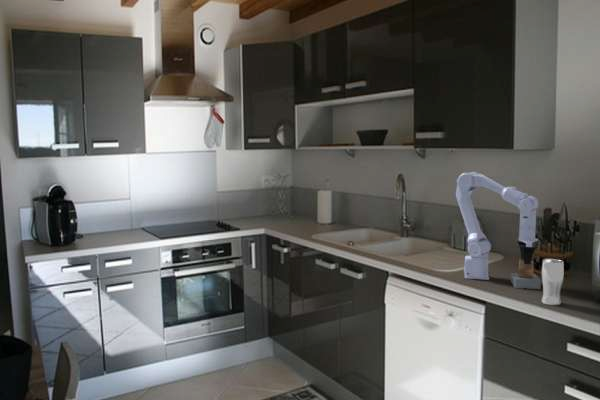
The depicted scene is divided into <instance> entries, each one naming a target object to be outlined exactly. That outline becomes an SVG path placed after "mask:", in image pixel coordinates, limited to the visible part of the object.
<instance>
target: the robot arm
mask: <svg viewBox="0 0 600 400" xmlns="http://www.w3.org/2000/svg"><path fill="white" fill-rule="evenodd" d="M456 184H457V185H456V189H455V190H456V191H455V197H456V200H457V203H458V207H459V209H460V212H461V216H462V219H463V222H464V226H465V228H466V231H467V234H468V237H467V241H466V242H467V252H468V253H469V254H468V255H465V257H464V268H463V274H464V279H472V280H475V279H476V280H485V281H489V280H490V276H489V273H488V272H489V253H490V251H491V249H492V244H491V242H490V241H489V239H488V238H487V236H486V235H485V234H484V232H483V231H482V229H481V226H480V223H479V220H478V218H477V214H476V211H475V208H474V204H473V202H472V198H471V195H472V194H473V192H474V190H475V189H476V188H477V187H484V188H486V189H488V190H491V191H493V192H495V193H496V194H498V195H500V196H501V198H502V200H504V201H505V202H508V203H509V204H511V205H514V206H515V207H517V208H518V209H519V228H518V229H519V230H518V239H517V240H518V241H517V244H518V246H519V249H520V250H519V252H520V256H521V258H520V259H521V260H524V264H530V263H531V260H533V256H534V253H535V251H536V250H537V246H533V244H534V243H535V242H538V241H539V238H536V227H537V222H536V221H537V209H538V207H539V206H540V205H539V203H540V202H539V200H538V199H537V197H536V196H533V195H528V193H526V192H522V191H520V190H518V189H517V187H516V186H507V187H505V186H503V185H501V184H500V183H499V182H497V181H494V180H493V179H491V178H490V177H488V176H485V175H484V174H482V173H479V172H478V171H471V172H462V173H461V174H460V175H459V176H458V178H457V179H456Z"/></svg>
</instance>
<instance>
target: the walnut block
mask: <svg viewBox="0 0 600 400" xmlns="http://www.w3.org/2000/svg"><path fill="white" fill-rule="evenodd" d="M518 261H519V262H518V273H519V277H523V278H533V274H534V269H535V268H534V267H535V264H534V263H535V262H534V260H533V259H532V260H531V263H530V264H524V260H523V259H518Z"/></svg>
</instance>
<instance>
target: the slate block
mask: <svg viewBox="0 0 600 400" xmlns="http://www.w3.org/2000/svg"><path fill="white" fill-rule="evenodd" d="M510 283H511V284H512V285H513V287H514V289H524V288H527V290H529V289H530V290H541V283H542V279H541V278H539V277H538V276H537V275H536V274H535V273H533V278H523V277H519V272H518V273H517V272H514V273H512V272H511V273H510Z"/></svg>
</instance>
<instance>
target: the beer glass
mask: <svg viewBox="0 0 600 400" xmlns="http://www.w3.org/2000/svg"><path fill="white" fill-rule="evenodd" d="M541 264H542V265H541V271H540V272H541V275H540V276H541V283H542V290H543V291H542V296H541V297H542V298H541V303H542V304H545V305H548V306H559V305H561V304H562V303H561V288H562V286H563V281H564V275H565V273H564V271H565V269H564V266H565V264H564V261H563V260H562V259H561V260H560V259H557V258H556V259H555V258H544V259H542V263H541Z"/></svg>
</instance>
